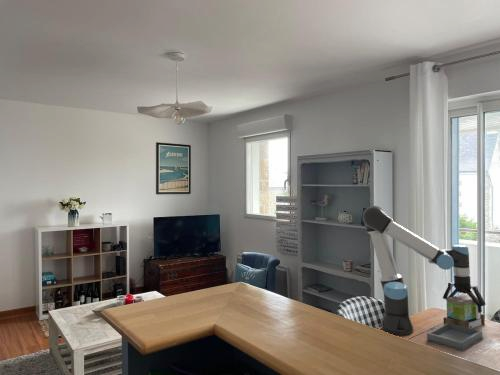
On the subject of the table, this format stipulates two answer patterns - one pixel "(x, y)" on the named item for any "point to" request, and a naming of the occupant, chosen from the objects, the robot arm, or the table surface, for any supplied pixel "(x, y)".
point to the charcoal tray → (454, 336)
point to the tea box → (463, 310)
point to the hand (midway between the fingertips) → (464, 315)
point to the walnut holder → (461, 323)
